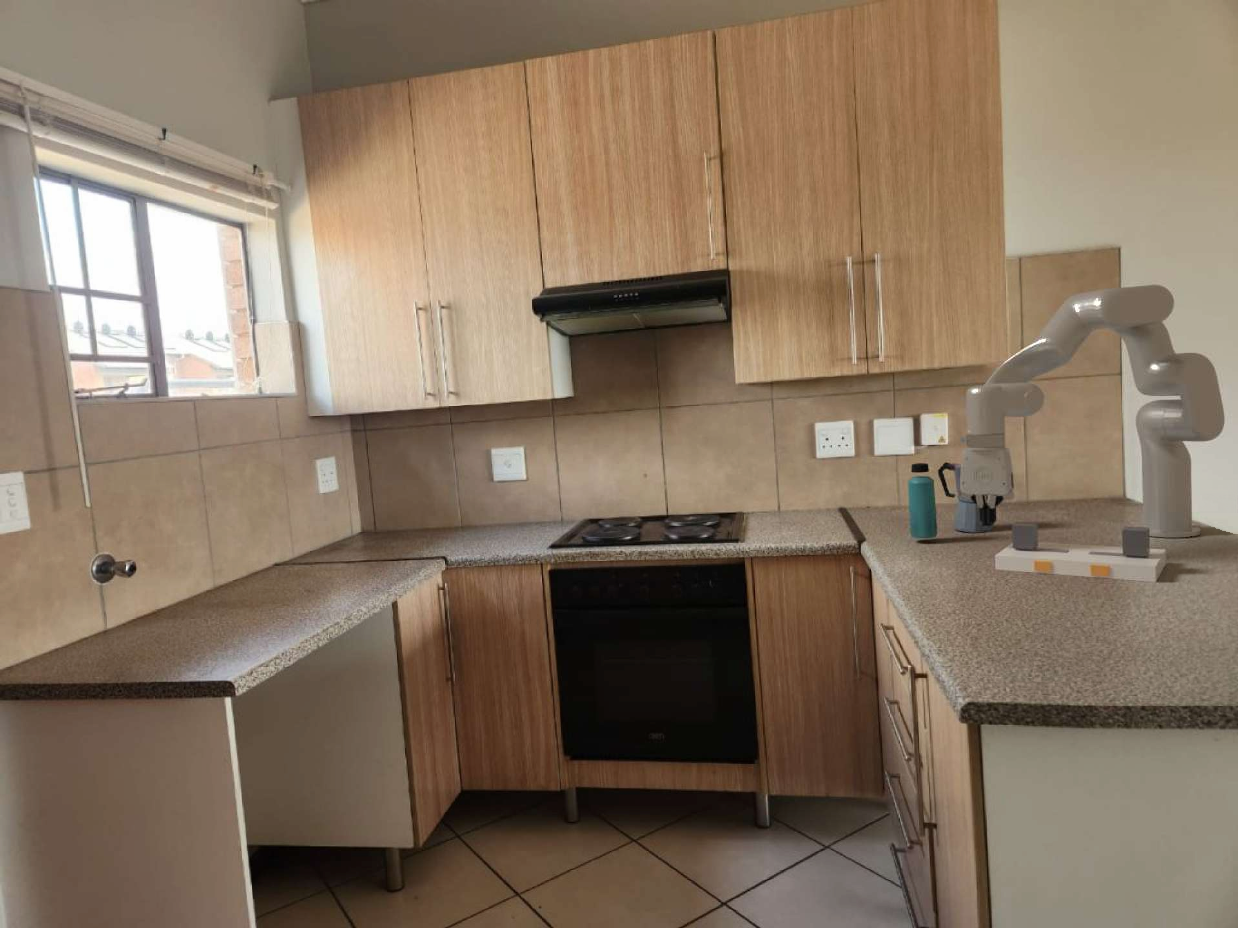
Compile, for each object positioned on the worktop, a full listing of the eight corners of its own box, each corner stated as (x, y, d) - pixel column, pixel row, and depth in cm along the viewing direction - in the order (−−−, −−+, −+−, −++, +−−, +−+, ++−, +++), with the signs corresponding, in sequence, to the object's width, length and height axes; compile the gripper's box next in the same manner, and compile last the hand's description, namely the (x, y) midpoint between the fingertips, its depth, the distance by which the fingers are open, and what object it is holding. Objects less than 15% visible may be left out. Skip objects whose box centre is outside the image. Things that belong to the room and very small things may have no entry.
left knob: (1017, 544, 170) (1016, 521, 169) (1038, 545, 167) (1037, 522, 167) (1012, 548, 167) (1012, 525, 166) (1033, 549, 164) (1032, 526, 164)
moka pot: (1001, 534, 198) (998, 456, 196) (936, 532, 206) (933, 457, 204) (1005, 527, 206) (1002, 452, 204) (942, 526, 214) (939, 454, 212)
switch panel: (1015, 553, 176) (1015, 540, 176) (1166, 563, 158) (1165, 548, 157) (995, 569, 164) (994, 554, 164) (1155, 582, 145) (1155, 565, 145)
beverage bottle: (940, 543, 192) (936, 463, 191) (912, 544, 194) (908, 465, 192) (935, 538, 199) (931, 461, 197) (907, 539, 200) (904, 462, 198)
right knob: (1125, 550, 157) (1125, 526, 156) (1149, 552, 154) (1149, 527, 154) (1122, 554, 154) (1122, 530, 153) (1146, 556, 151) (1146, 531, 151)
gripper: (945, 444, 172) (947, 526, 173) (1019, 443, 162) (1020, 530, 163) (956, 441, 177) (958, 520, 179) (1028, 440, 168) (1029, 524, 169)
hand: (988, 525), depth 171 cm, fingers closed
